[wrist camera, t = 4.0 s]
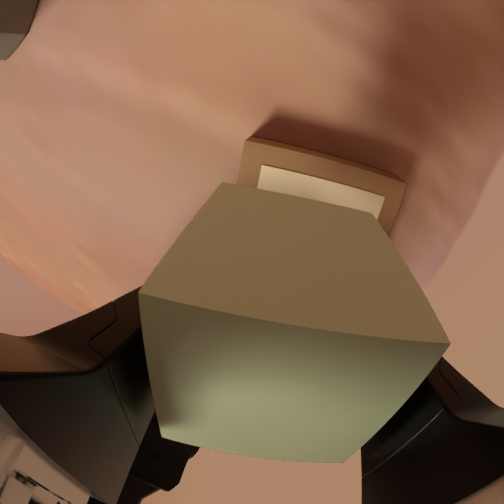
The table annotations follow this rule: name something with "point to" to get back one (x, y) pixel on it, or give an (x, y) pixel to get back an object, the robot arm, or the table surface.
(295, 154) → the walnut base
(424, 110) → the table surface
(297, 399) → the sage block
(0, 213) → the table surface
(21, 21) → the coffeepot
